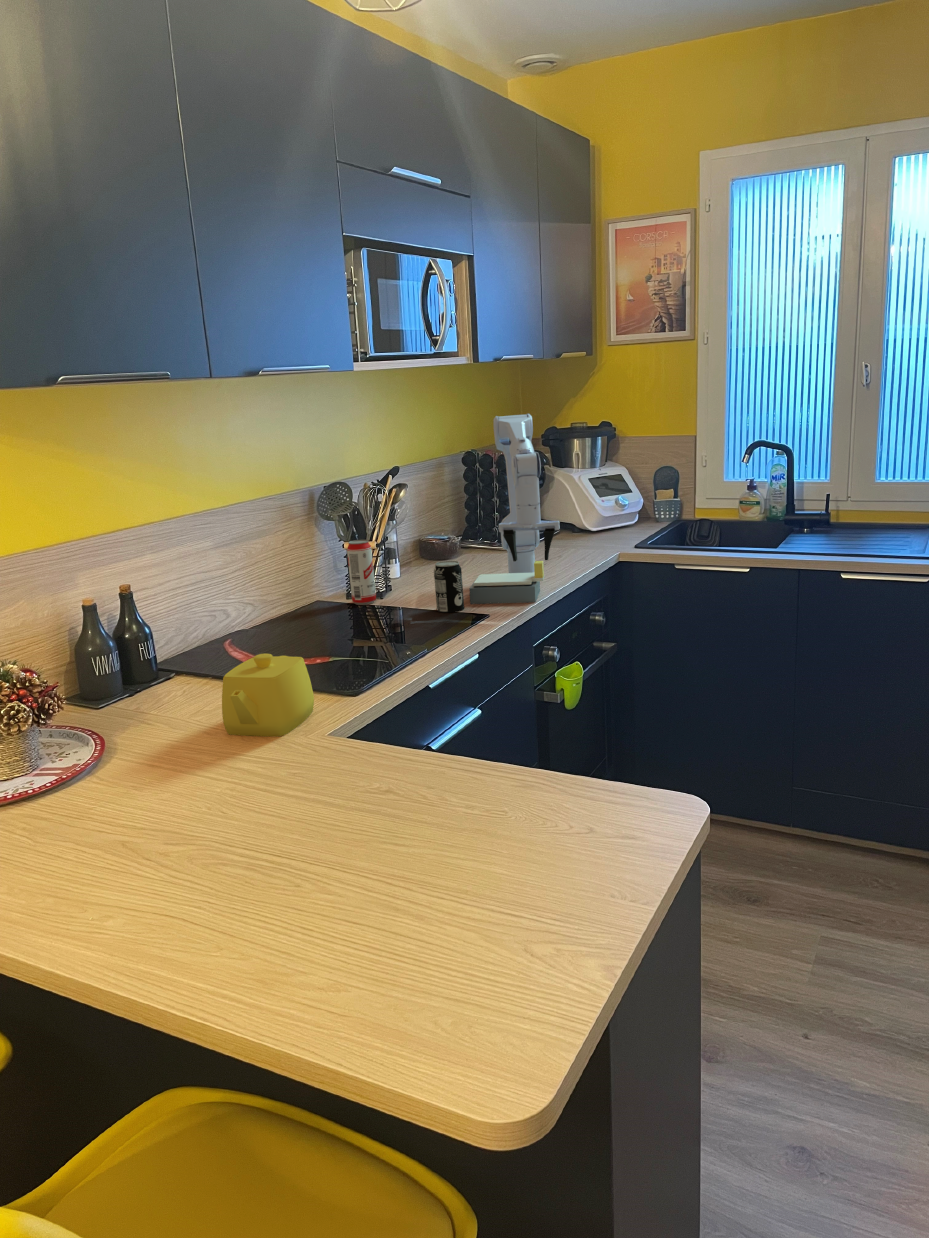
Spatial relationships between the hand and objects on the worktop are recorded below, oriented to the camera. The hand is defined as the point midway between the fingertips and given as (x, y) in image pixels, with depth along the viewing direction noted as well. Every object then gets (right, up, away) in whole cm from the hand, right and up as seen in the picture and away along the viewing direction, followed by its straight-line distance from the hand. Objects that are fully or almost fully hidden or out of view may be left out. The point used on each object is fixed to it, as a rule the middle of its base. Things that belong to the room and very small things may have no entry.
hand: (530, 560), depth 220 cm
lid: (-5, -5, +4) cm, 8 cm away
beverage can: (-19, -13, -2) cm, 23 cm away
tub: (-6, -9, +6) cm, 13 cm away
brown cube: (-3, -9, +3) cm, 10 cm away
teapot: (-49, -32, -68) cm, 90 cm away
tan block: (-8, -8, +9) cm, 15 cm away
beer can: (-42, -10, +14) cm, 45 cm away
